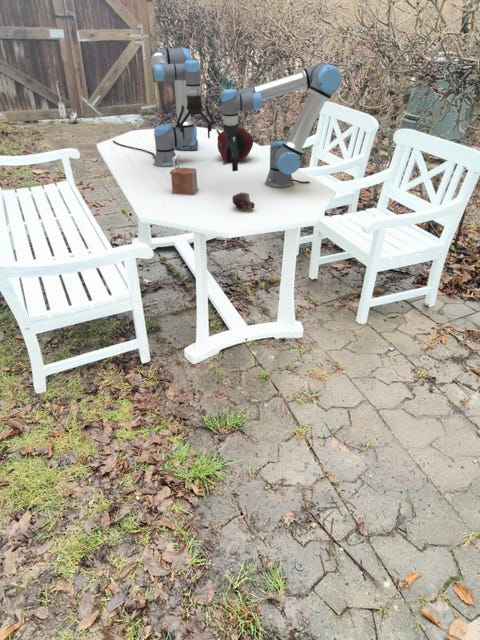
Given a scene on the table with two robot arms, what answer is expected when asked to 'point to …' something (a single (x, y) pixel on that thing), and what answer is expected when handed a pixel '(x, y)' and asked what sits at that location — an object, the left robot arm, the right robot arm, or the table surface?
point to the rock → (242, 201)
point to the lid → (181, 170)
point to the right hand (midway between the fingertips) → (232, 166)
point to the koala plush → (188, 147)
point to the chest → (184, 183)
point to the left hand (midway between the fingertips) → (196, 138)
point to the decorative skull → (242, 143)
